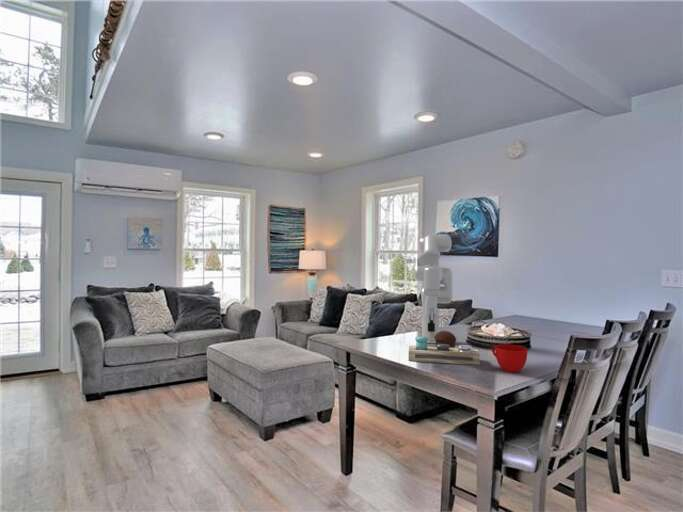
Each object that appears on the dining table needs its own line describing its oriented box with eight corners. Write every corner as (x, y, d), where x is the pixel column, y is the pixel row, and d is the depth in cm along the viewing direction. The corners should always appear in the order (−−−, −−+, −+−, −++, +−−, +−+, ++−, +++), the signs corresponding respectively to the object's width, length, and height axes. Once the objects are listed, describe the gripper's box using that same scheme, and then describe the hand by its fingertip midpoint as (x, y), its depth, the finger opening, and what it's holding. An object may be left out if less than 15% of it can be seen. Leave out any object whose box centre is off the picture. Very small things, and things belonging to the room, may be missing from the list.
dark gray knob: (436, 356, 202) (436, 343, 202) (449, 356, 201) (449, 344, 201) (436, 359, 196) (436, 346, 196) (449, 360, 195) (450, 346, 195)
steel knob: (457, 357, 200) (457, 344, 200) (470, 358, 199) (470, 345, 199) (458, 360, 194) (458, 347, 194) (472, 361, 193) (472, 347, 193)
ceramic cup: (502, 363, 194) (502, 341, 194) (533, 372, 179) (534, 349, 179) (481, 366, 188) (482, 344, 188) (512, 376, 173) (513, 352, 173)
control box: (409, 355, 207) (409, 345, 207) (476, 359, 201) (476, 348, 201) (408, 360, 197) (408, 350, 196) (479, 365, 190) (479, 354, 190)
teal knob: (415, 348, 204) (415, 336, 204) (427, 349, 203) (428, 336, 203) (415, 351, 198) (415, 338, 198) (428, 352, 197) (428, 339, 197)
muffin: (460, 352, 214) (460, 333, 213) (440, 354, 211) (441, 334, 211) (449, 347, 225) (449, 329, 225) (430, 348, 222) (430, 329, 222)
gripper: (423, 291, 207) (422, 328, 207) (424, 294, 193) (423, 333, 193) (438, 291, 206) (438, 329, 206) (440, 294, 191) (440, 334, 191)
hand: (431, 331), depth 199 cm, fingers closed
